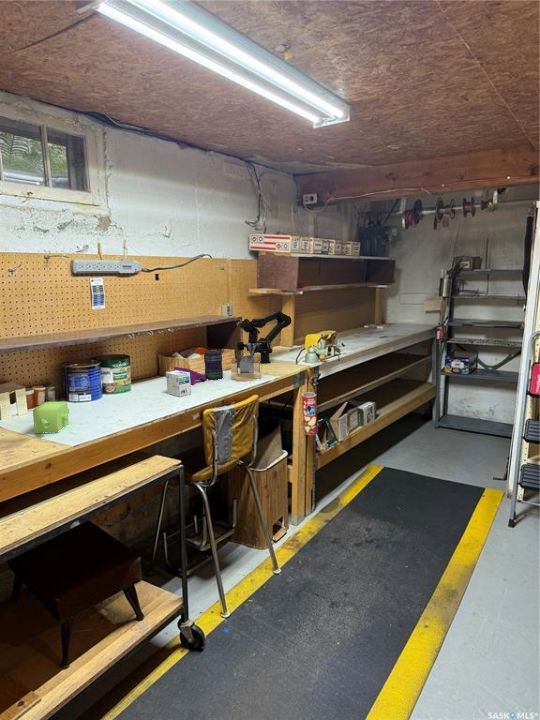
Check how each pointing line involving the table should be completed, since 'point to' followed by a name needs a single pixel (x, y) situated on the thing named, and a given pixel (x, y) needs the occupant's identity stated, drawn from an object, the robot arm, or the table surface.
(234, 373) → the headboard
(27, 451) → the table surface
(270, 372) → the table surface
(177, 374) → the light bulb box
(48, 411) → the gearbox
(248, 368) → the silver rectangular block
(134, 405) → the table surface
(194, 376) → the mounting bracket
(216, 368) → the storage jar
